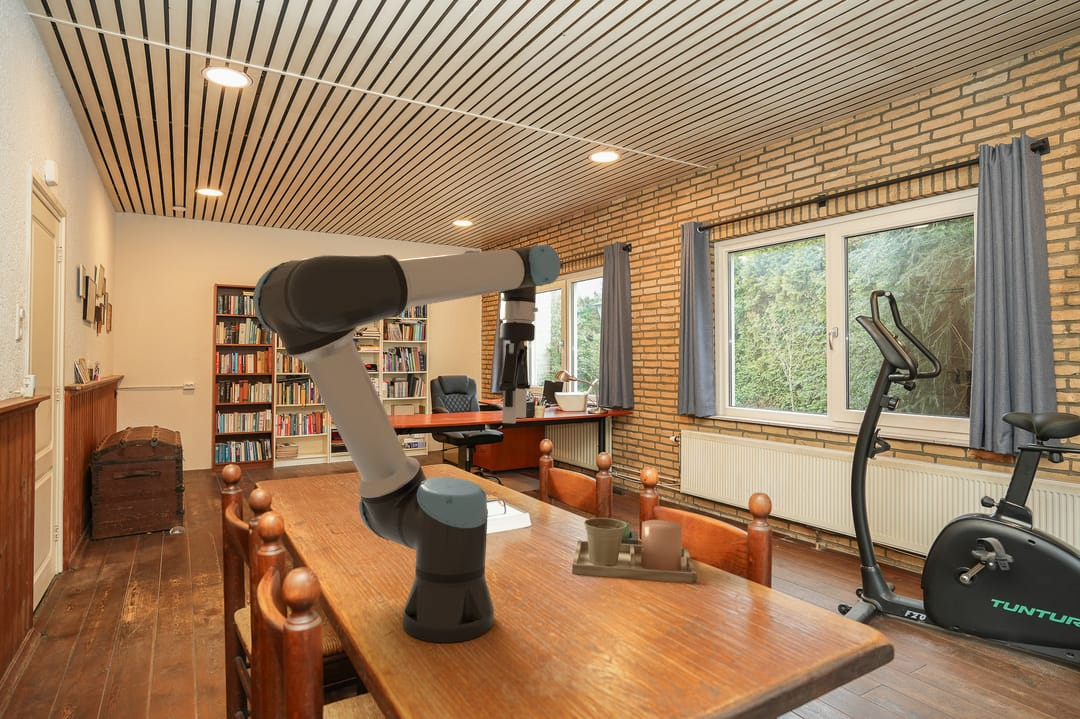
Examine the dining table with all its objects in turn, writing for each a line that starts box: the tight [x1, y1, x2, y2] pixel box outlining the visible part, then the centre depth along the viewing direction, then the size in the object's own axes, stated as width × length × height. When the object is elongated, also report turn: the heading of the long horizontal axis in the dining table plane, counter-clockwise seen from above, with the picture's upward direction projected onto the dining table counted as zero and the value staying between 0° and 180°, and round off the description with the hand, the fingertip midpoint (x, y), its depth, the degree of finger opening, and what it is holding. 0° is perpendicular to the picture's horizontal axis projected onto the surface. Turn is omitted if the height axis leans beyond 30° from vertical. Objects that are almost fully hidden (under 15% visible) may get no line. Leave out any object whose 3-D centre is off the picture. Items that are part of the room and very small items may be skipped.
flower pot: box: [583, 517, 627, 566], centre depth 132 cm, size 9×9×9 cm
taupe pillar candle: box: [640, 519, 683, 571], centre depth 131 cm, size 9×9×9 cm
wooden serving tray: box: [571, 540, 698, 584], centre depth 132 cm, size 18×25×3 cm
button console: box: [621, 530, 640, 545], centre depth 147 cm, size 8×8×3 cm
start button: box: [621, 520, 631, 538], centre depth 147 cm, size 4×4×5 cm
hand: (514, 420), depth 130 cm, fingers open, 13 cm apart
